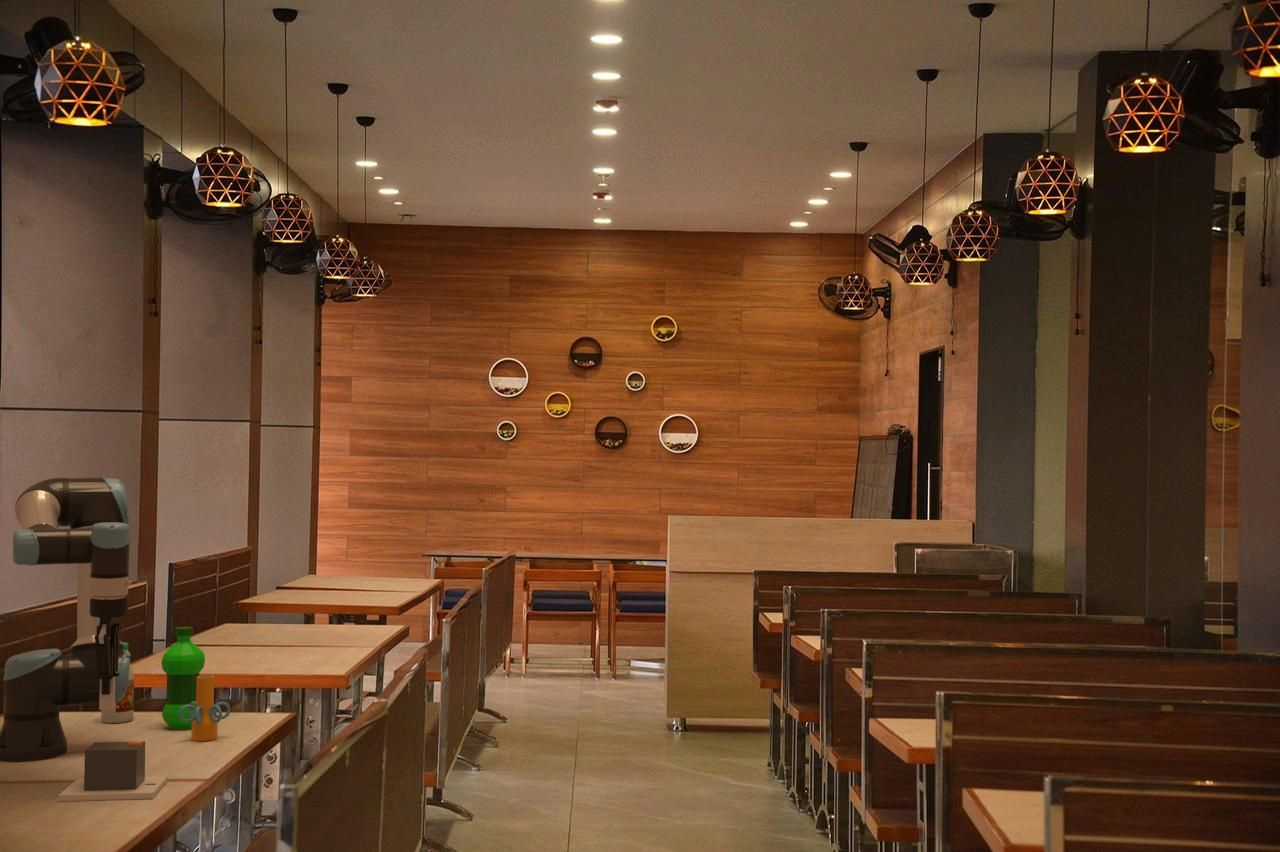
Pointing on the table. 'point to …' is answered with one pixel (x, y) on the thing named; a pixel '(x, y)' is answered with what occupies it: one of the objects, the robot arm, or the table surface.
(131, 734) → the table surface
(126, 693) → the milk bottle
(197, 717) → the orange tube with rings
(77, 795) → the board
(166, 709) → the plastic bottle
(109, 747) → the dark grey block
